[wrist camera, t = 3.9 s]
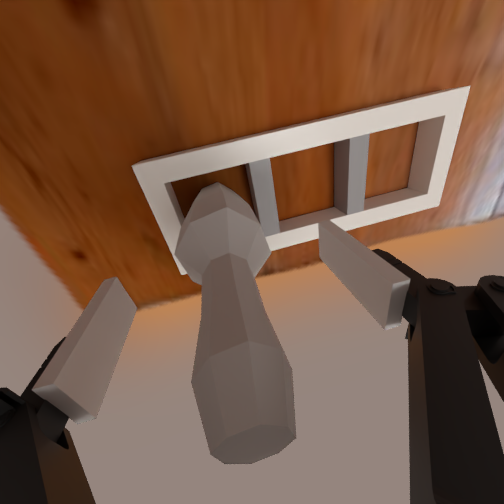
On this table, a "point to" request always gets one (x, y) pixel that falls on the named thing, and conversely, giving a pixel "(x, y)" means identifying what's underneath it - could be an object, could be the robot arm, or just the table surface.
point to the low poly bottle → (235, 332)
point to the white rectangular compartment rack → (345, 167)
